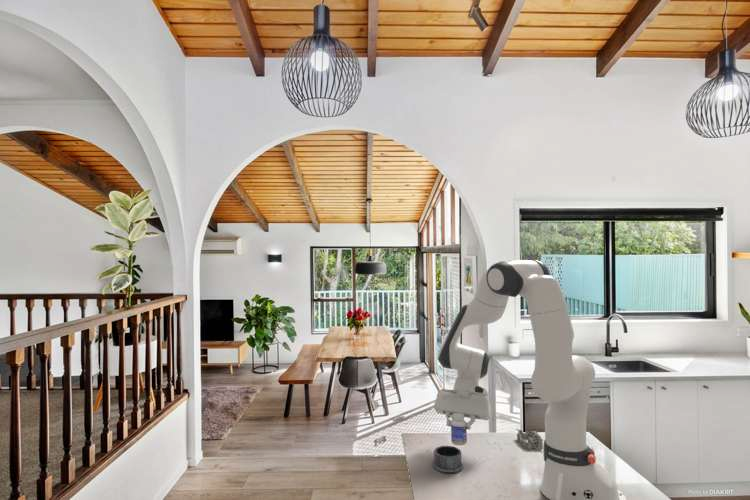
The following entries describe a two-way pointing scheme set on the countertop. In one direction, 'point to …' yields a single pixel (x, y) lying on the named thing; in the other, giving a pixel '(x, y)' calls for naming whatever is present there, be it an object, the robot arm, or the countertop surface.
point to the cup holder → (447, 460)
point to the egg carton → (530, 439)
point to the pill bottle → (458, 429)
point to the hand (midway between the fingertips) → (458, 427)
